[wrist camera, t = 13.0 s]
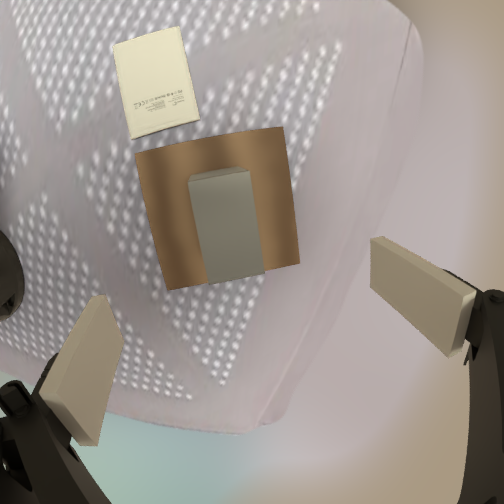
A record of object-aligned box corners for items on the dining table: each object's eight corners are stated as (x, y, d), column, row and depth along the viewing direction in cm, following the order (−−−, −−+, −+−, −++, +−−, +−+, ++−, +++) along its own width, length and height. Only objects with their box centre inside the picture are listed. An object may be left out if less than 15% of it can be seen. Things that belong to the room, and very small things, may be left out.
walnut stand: (169, 280, 37) (167, 290, 34) (140, 153, 31) (134, 153, 29) (292, 254, 39) (300, 263, 36) (276, 128, 33) (282, 126, 30)
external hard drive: (180, 30, 27) (200, 120, 32) (115, 49, 27) (133, 140, 31) (179, 25, 26) (200, 118, 30) (111, 45, 25) (130, 139, 30)
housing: (206, 254, 33) (209, 284, 26) (191, 174, 30) (187, 182, 23) (250, 245, 34) (264, 273, 26) (237, 166, 31) (249, 170, 23)
